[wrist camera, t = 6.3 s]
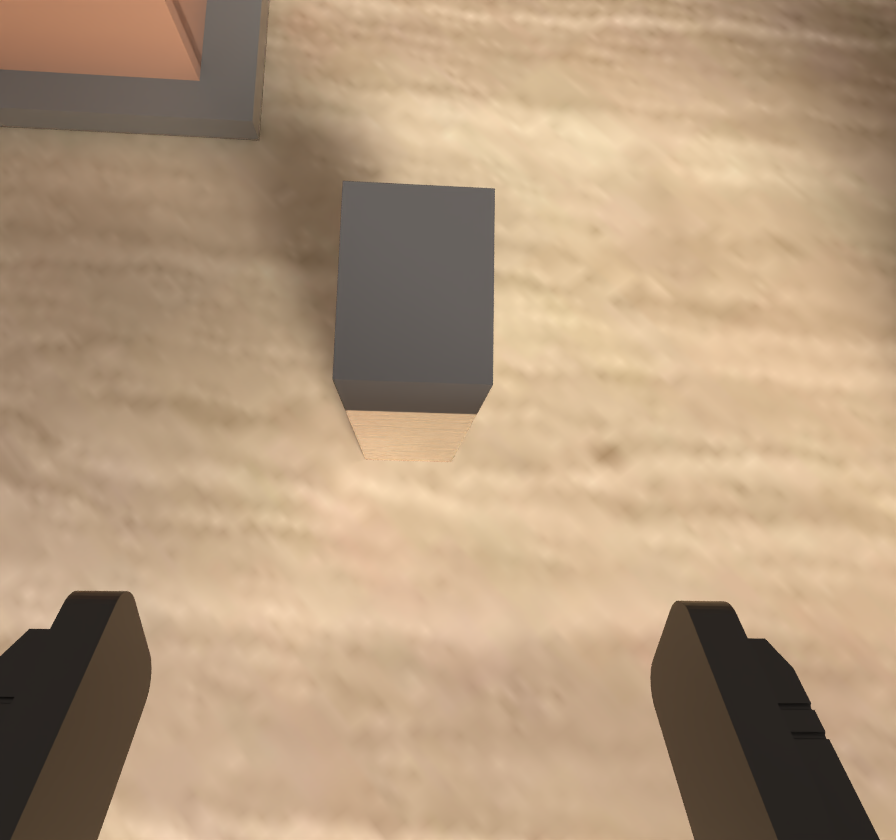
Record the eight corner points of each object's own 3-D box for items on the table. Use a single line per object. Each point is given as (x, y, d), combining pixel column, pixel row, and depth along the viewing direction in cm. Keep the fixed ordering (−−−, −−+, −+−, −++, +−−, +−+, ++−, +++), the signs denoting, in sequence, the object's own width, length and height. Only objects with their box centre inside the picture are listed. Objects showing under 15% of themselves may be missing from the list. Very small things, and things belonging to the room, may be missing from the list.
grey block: (453, 352, 26) (494, 188, 14) (450, 461, 25) (493, 384, 14) (370, 349, 26) (343, 181, 14) (365, 459, 25) (332, 379, 13)
